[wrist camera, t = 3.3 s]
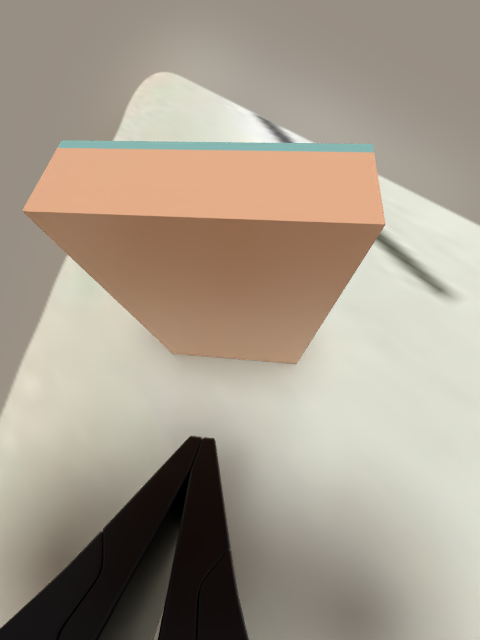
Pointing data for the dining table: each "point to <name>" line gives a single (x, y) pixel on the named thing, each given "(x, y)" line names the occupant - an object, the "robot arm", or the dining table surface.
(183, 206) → the glazed tile
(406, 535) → the dining table surface
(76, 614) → the robot arm
